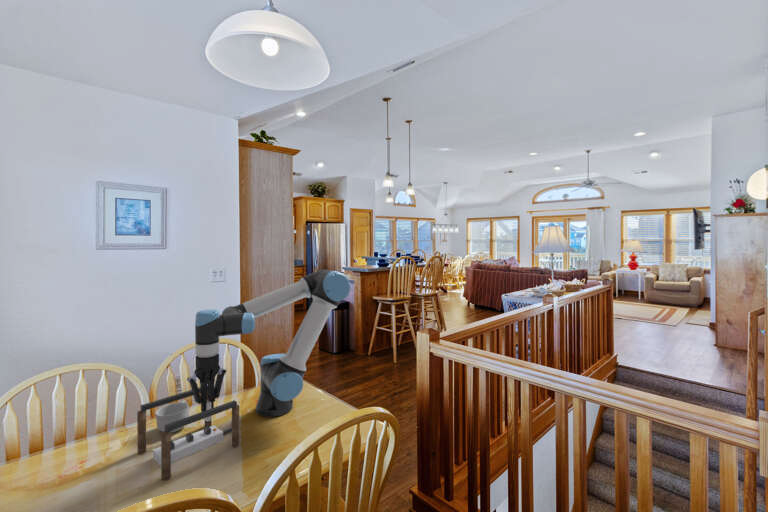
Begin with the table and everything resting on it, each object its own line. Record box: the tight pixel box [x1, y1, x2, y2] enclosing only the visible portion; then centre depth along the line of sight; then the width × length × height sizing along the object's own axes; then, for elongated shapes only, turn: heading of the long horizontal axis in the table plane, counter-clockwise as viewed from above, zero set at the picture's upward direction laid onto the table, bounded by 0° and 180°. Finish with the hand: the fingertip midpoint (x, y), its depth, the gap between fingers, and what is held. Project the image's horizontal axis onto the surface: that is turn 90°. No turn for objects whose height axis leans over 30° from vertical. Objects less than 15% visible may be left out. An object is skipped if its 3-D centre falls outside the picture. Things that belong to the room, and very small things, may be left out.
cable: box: [165, 399, 238, 432], centre depth 114 cm, size 22×2×2 cm, turn 142°
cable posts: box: [136, 391, 240, 482], centre depth 121 cm, size 24×22×14 cm
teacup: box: [155, 400, 190, 434], centre depth 135 cm, size 14×11×8 cm
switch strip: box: [152, 425, 232, 468], centre depth 123 cm, size 26×7×5 cm, turn 142°
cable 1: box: [140, 384, 208, 411], centre depth 127 cm, size 22×2×2 cm, turn 142°
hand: (207, 419), depth 125 cm, fingers closed
